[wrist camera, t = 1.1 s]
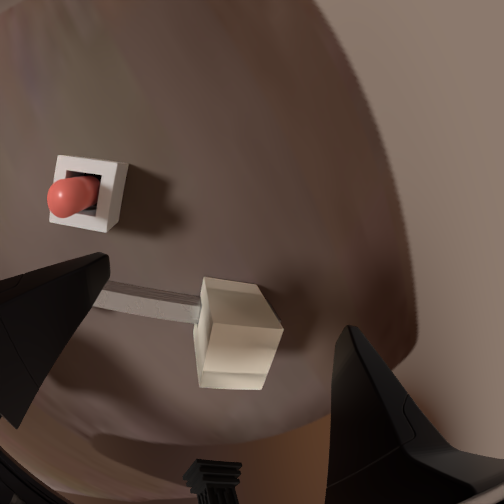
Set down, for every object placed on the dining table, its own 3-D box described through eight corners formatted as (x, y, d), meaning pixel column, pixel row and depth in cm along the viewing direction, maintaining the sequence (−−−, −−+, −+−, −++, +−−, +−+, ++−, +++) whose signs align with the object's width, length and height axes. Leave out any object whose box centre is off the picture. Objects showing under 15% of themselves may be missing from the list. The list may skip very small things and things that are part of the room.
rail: (260, 325, 28) (271, 348, 24) (65, 294, 22) (50, 314, 18) (267, 299, 27) (280, 320, 23) (65, 265, 21) (48, 282, 17)
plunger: (99, 208, 19) (76, 220, 14) (73, 203, 18) (45, 215, 13) (104, 177, 18) (81, 181, 13) (77, 173, 17) (49, 177, 13)
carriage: (241, 336, 27) (261, 389, 20) (193, 331, 26) (199, 387, 19) (256, 284, 26) (283, 329, 19) (203, 276, 24) (213, 322, 17)
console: (118, 221, 21) (106, 232, 18) (68, 212, 20) (49, 222, 16) (129, 163, 20) (117, 162, 16) (77, 156, 19) (58, 155, 15)
